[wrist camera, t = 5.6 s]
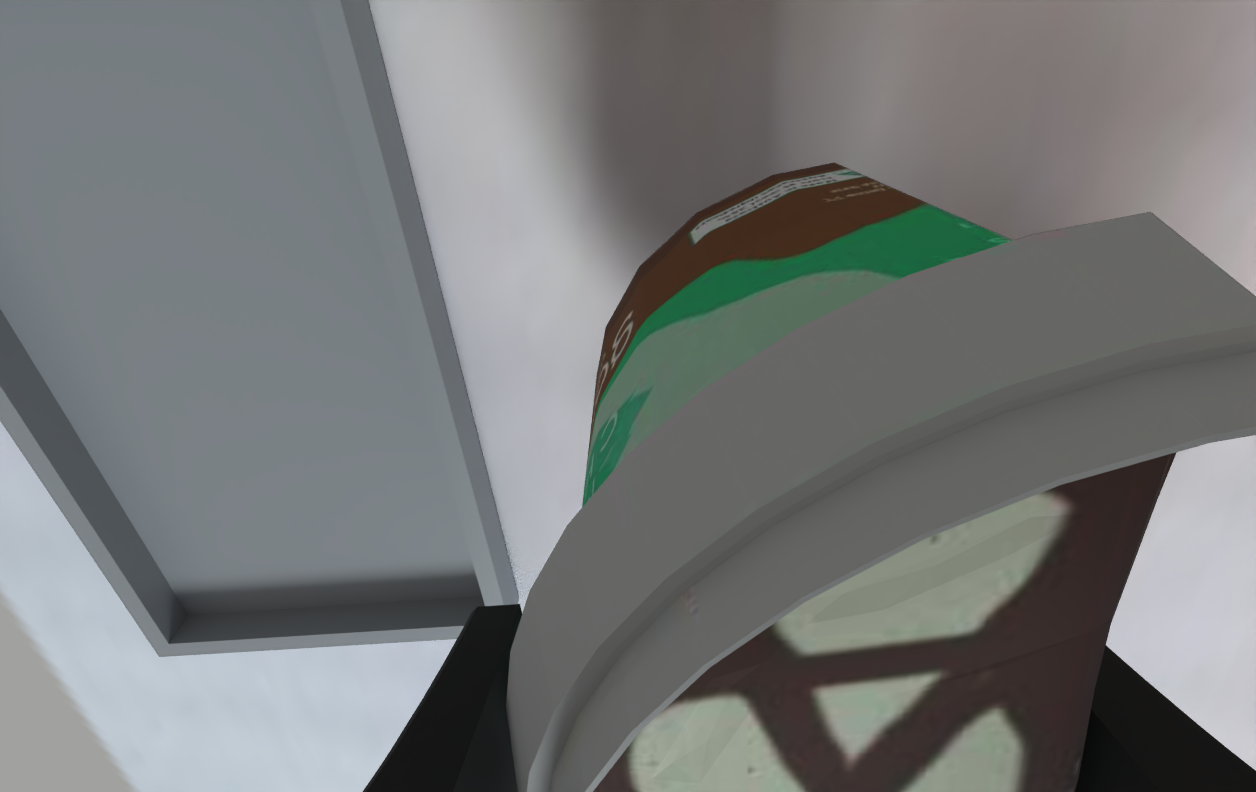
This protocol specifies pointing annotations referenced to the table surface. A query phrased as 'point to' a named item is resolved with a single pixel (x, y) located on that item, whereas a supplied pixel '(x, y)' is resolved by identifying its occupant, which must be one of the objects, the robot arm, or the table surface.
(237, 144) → the gray tray
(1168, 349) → the food container
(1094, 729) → the robot arm
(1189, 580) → the table surface
